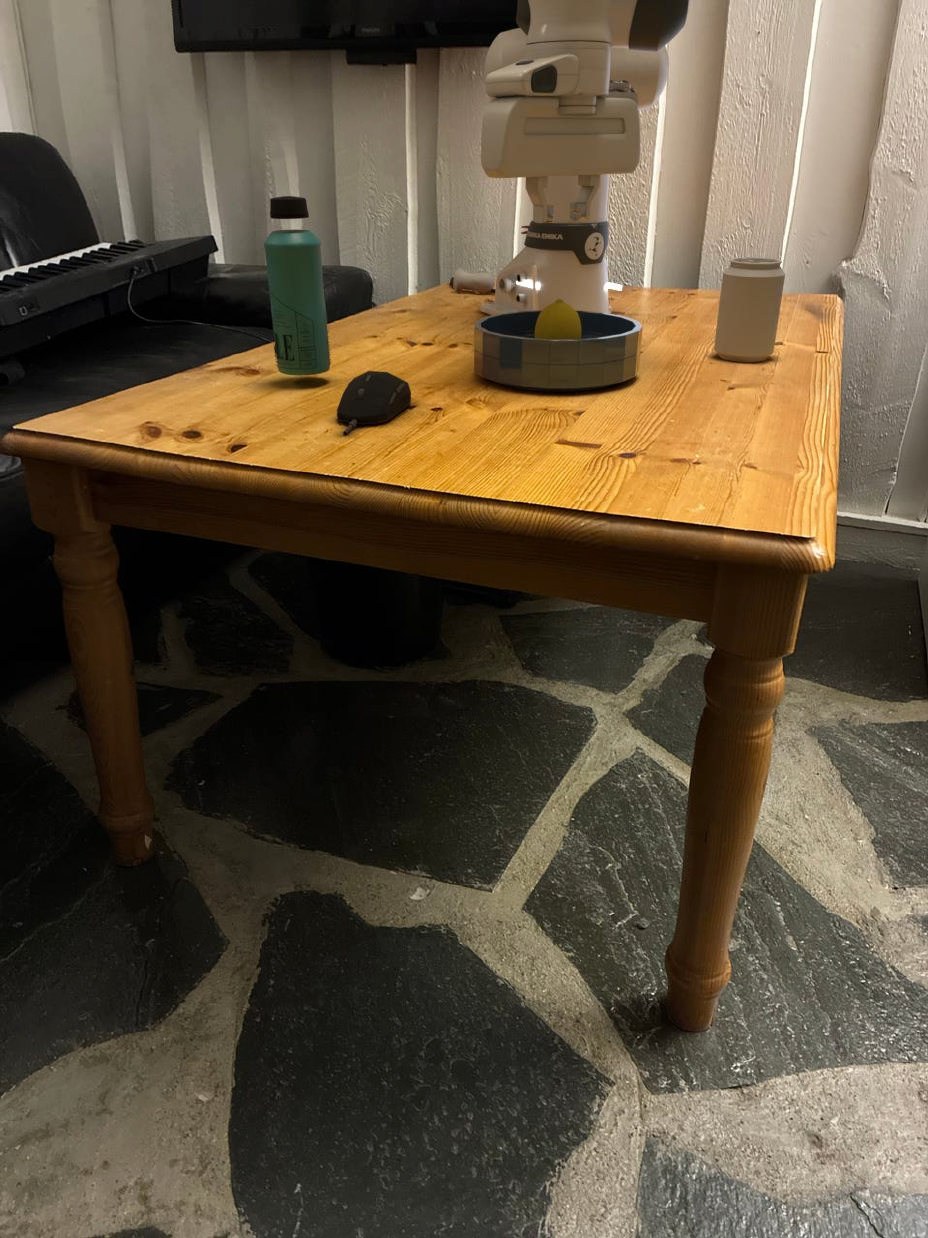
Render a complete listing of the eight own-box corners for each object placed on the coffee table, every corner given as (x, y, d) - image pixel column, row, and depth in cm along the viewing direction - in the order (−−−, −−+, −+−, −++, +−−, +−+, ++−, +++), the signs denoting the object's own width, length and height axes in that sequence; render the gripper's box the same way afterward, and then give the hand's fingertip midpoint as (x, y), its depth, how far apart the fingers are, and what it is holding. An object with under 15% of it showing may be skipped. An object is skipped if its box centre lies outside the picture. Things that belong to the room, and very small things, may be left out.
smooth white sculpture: (498, 299, 168) (486, 293, 164) (460, 295, 171) (447, 289, 167) (502, 274, 167) (490, 268, 163) (464, 271, 170) (451, 265, 166)
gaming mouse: (314, 433, 89) (311, 392, 87) (365, 395, 101) (362, 359, 99) (375, 437, 87) (373, 396, 85) (419, 398, 100) (417, 362, 98)
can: (775, 364, 114) (791, 262, 108) (714, 362, 115) (726, 261, 110) (770, 352, 120) (784, 255, 115) (712, 350, 122) (723, 254, 116)
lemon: (530, 364, 111) (532, 295, 108) (574, 362, 112) (578, 294, 108) (537, 374, 106) (539, 303, 103) (583, 373, 107) (587, 302, 103)
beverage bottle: (342, 377, 109) (329, 194, 99) (316, 391, 103) (300, 198, 94) (294, 374, 111) (277, 193, 101) (266, 386, 105) (245, 197, 96)
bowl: (442, 371, 112) (441, 321, 109) (563, 351, 122) (565, 304, 119) (545, 404, 97) (547, 347, 95) (672, 378, 107) (677, 326, 105)
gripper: (618, 81, 103) (609, 214, 109) (472, 76, 92) (472, 224, 99) (659, 78, 98) (647, 218, 104) (510, 73, 88) (508, 228, 94)
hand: (561, 221), depth 101 cm, fingers open, 4 cm apart
